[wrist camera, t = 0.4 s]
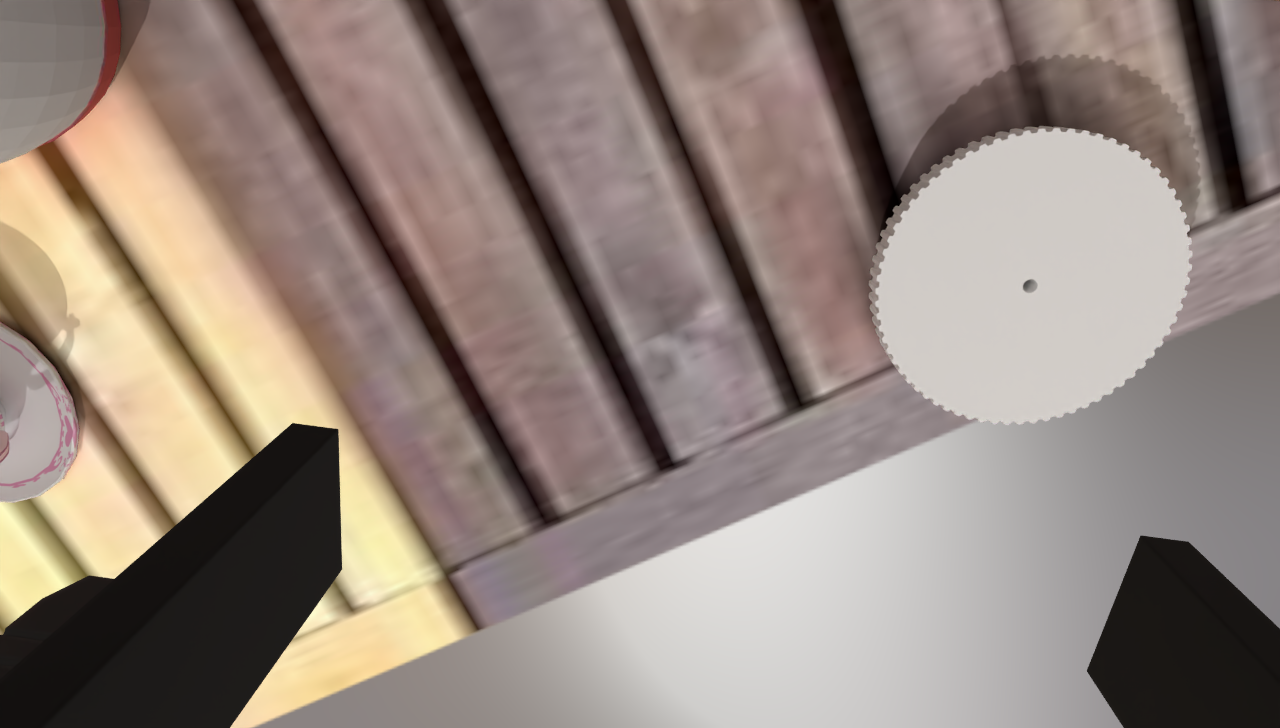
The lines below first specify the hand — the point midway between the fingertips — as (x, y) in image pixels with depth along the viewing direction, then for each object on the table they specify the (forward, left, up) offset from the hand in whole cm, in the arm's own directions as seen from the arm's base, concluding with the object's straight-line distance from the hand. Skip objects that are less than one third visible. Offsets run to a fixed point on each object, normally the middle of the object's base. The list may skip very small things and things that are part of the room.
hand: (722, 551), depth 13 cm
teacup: (+14, -40, -28) cm, 51 cm away
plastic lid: (0, +15, -28) cm, 32 cm away
